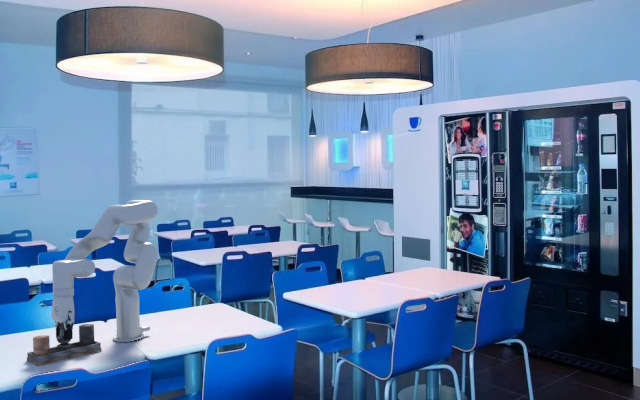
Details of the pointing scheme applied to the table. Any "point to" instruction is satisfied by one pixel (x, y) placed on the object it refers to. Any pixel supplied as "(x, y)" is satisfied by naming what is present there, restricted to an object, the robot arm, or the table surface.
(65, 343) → the salt shaker
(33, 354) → the condiment rail
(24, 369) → the table surface
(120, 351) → the table surface
